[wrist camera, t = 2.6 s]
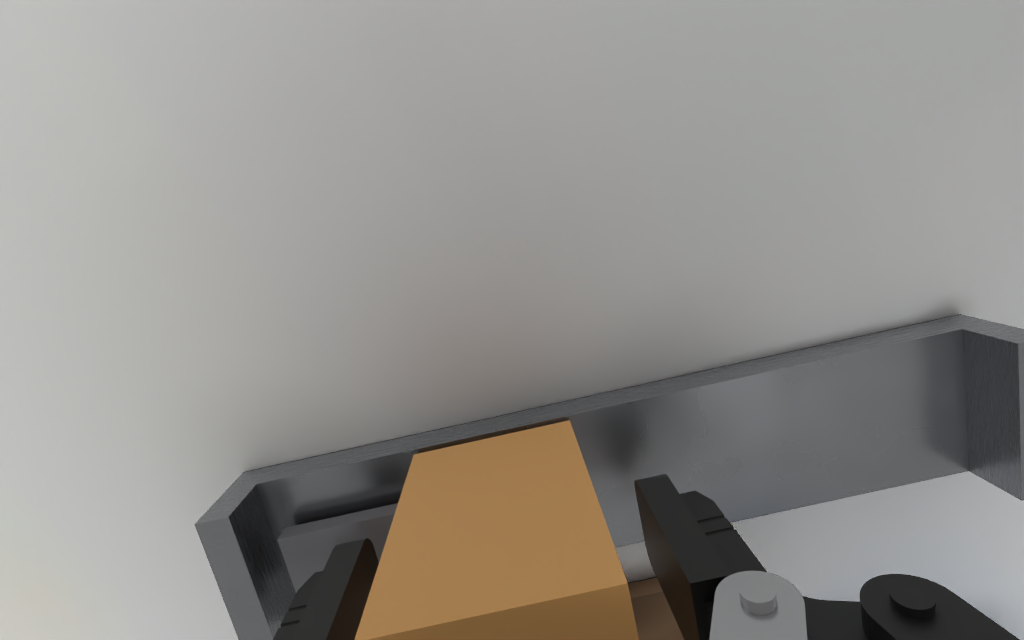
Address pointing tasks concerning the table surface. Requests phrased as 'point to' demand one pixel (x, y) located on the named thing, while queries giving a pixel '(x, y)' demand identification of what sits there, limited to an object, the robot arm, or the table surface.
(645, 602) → the tray
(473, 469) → the tan rectangular block
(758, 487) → the rail
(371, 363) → the table surface
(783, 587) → the robot arm
